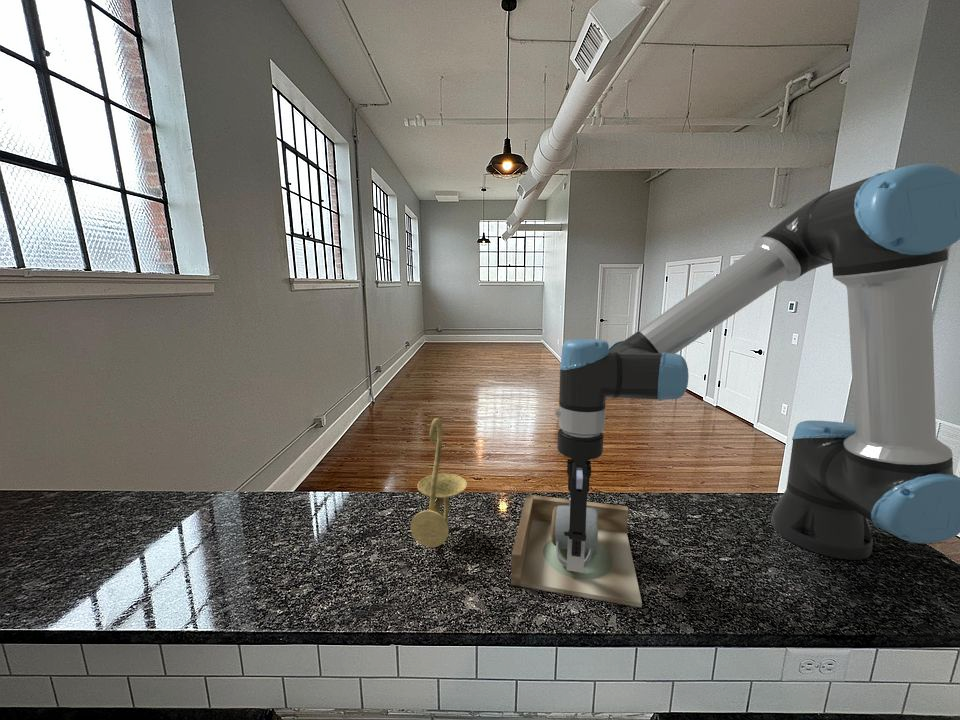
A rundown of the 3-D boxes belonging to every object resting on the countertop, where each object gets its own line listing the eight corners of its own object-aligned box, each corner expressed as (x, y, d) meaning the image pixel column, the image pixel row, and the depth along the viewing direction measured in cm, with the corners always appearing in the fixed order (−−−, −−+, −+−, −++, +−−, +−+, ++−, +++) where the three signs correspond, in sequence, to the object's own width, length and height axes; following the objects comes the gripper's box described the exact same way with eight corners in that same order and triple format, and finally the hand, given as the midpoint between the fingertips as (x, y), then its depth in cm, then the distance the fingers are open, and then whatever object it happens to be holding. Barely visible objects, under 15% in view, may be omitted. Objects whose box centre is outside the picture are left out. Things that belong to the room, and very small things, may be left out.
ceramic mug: (553, 530, 77) (554, 494, 75) (597, 537, 75) (599, 500, 73) (547, 567, 67) (548, 527, 65) (598, 577, 65) (600, 535, 63)
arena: (625, 532, 79) (627, 506, 78) (641, 607, 60) (644, 575, 59) (525, 518, 84) (526, 494, 83) (510, 584, 64) (511, 554, 64)
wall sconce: (456, 569, 68) (456, 430, 64) (403, 563, 69) (400, 426, 65) (470, 523, 82) (471, 406, 78) (426, 519, 83) (424, 404, 79)
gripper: (560, 410, 79) (556, 512, 82) (554, 454, 57) (549, 591, 60) (599, 412, 77) (594, 517, 81) (609, 459, 55) (600, 600, 59)
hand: (575, 549), depth 70 cm, fingers closed on ceramic mug, 10 cm apart
